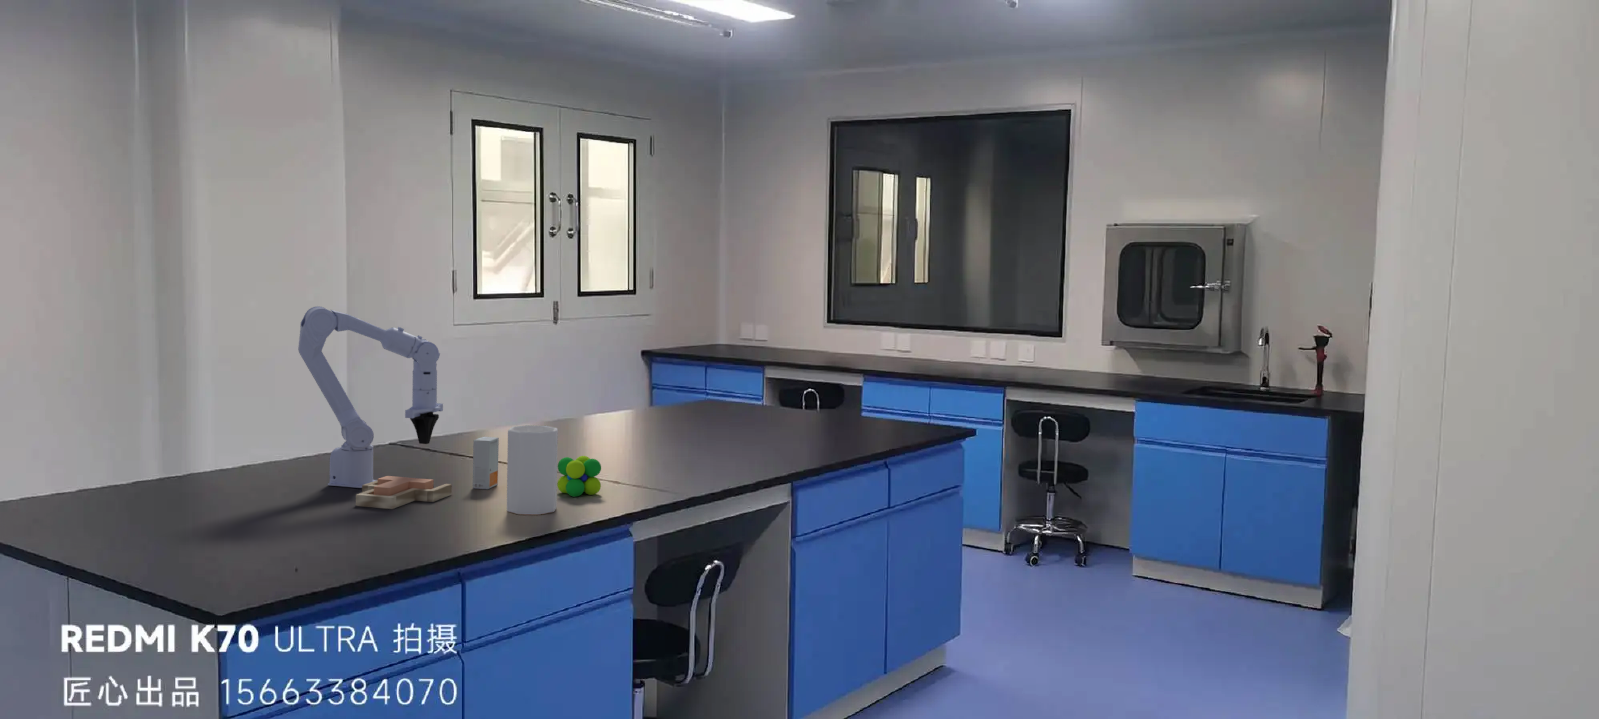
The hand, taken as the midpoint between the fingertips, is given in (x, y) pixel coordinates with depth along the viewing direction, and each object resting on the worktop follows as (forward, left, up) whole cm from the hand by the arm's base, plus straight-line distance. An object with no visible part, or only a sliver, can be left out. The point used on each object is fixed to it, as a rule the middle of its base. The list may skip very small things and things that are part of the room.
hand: (424, 443), depth 283 cm
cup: (+38, -20, -10) cm, 44 cm away
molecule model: (+41, 0, -10) cm, 42 cm away
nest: (+5, -21, -9) cm, 24 cm away
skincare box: (+17, -1, -10) cm, 20 cm away
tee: (+5, -21, -9) cm, 24 cm away
